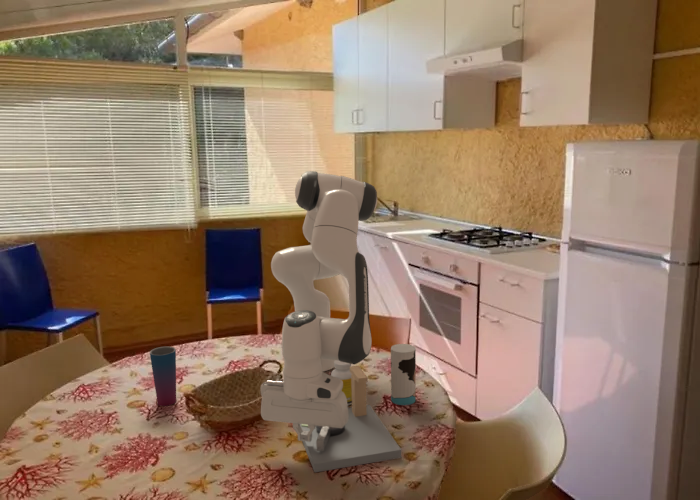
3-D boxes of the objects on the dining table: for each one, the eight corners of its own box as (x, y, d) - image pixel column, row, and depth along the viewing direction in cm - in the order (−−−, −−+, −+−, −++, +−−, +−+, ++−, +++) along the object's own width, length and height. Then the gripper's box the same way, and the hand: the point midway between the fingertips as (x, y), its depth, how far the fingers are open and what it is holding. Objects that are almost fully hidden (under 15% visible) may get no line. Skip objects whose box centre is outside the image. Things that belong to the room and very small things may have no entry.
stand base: (294, 422, 149) (292, 373, 147) (369, 411, 155) (368, 364, 152) (314, 472, 127) (312, 415, 124) (401, 457, 132) (401, 403, 129)
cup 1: (159, 409, 158) (155, 357, 156) (150, 401, 163) (145, 350, 161) (183, 402, 162) (179, 351, 160) (173, 394, 168) (169, 344, 165)
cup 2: (419, 402, 159) (419, 350, 157) (397, 407, 157) (397, 353, 154) (409, 393, 165) (408, 342, 163) (387, 397, 163) (386, 345, 160)
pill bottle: (352, 407, 157) (351, 366, 155) (329, 406, 158) (328, 365, 156) (357, 397, 163) (356, 358, 161) (334, 395, 165) (333, 356, 163)
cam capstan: (322, 415, 149) (321, 403, 148) (349, 417, 147) (349, 405, 147) (305, 453, 131) (304, 439, 130) (335, 455, 130) (335, 441, 129)
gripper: (254, 385, 131) (257, 441, 134) (342, 393, 126) (343, 451, 129) (265, 374, 137) (268, 428, 140) (349, 381, 132) (351, 438, 135)
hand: (305, 440), depth 134 cm, fingers closed
